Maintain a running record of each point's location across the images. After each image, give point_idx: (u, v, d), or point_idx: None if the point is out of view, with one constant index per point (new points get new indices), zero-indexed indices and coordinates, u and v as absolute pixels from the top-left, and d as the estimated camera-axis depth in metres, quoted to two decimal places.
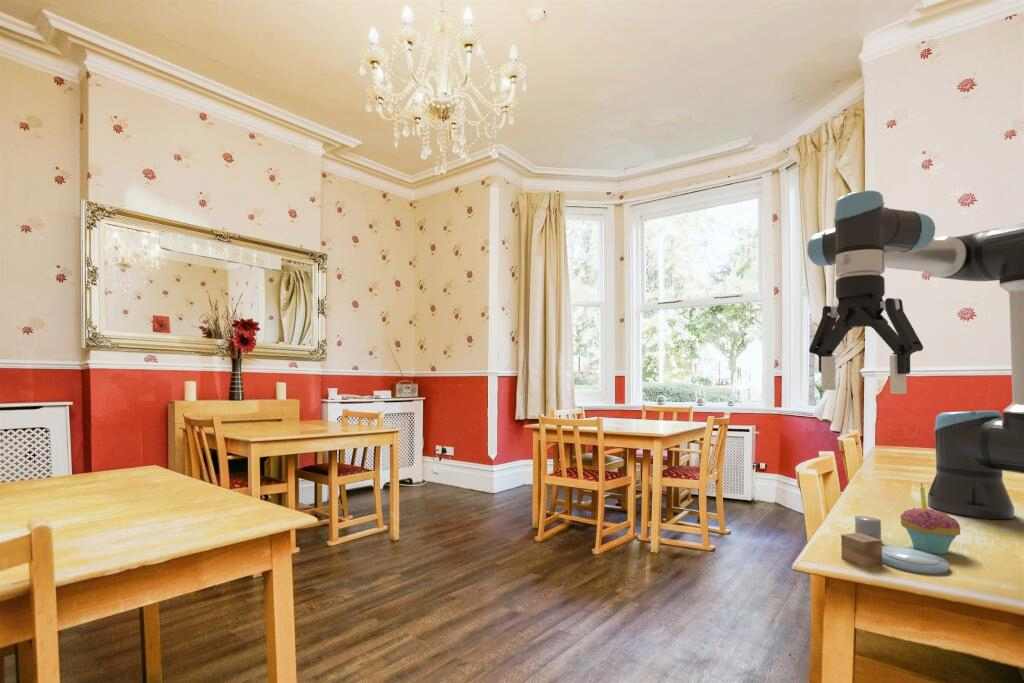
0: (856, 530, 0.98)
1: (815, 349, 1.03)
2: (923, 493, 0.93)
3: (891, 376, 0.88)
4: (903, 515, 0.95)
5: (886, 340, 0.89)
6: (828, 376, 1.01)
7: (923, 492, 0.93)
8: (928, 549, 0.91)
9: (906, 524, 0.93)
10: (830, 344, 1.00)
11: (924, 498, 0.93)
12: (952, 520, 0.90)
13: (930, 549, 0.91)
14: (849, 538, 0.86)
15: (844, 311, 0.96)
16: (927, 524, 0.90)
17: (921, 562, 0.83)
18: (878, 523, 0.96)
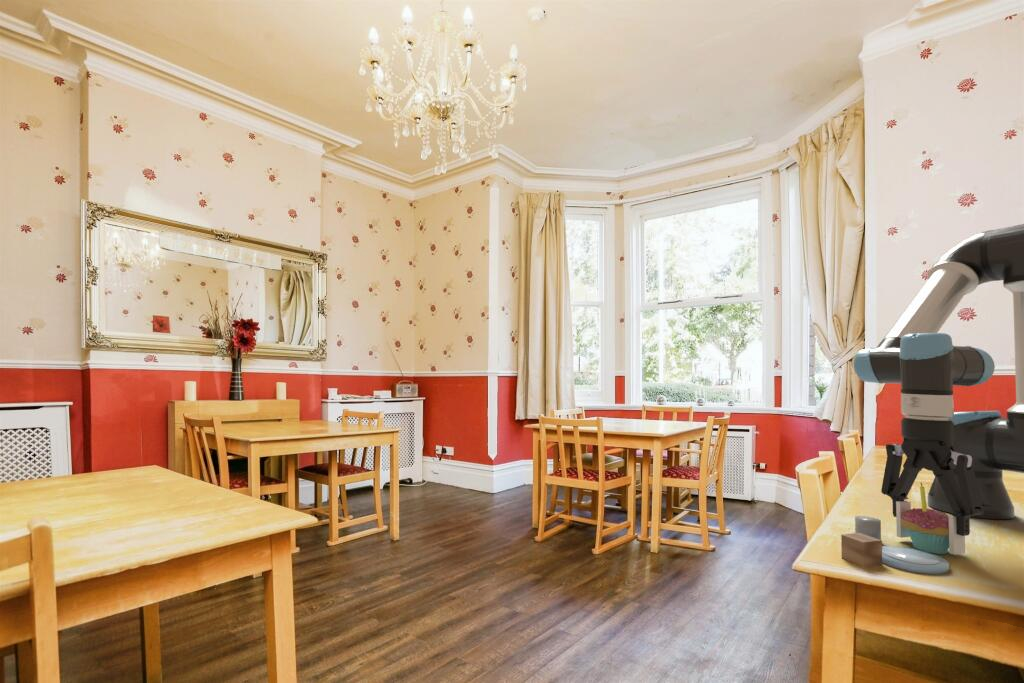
0: (856, 530, 0.98)
1: (888, 490, 0.99)
2: (923, 493, 0.93)
3: (950, 536, 0.89)
4: (903, 515, 0.95)
5: (948, 496, 0.89)
6: None
7: (923, 492, 0.93)
8: (928, 549, 0.91)
9: (906, 524, 0.93)
10: (903, 487, 0.97)
11: (924, 498, 0.93)
12: None
13: (930, 549, 0.91)
14: (849, 538, 0.86)
15: (911, 452, 0.95)
16: (927, 524, 0.90)
17: (921, 562, 0.83)
18: (878, 523, 0.96)
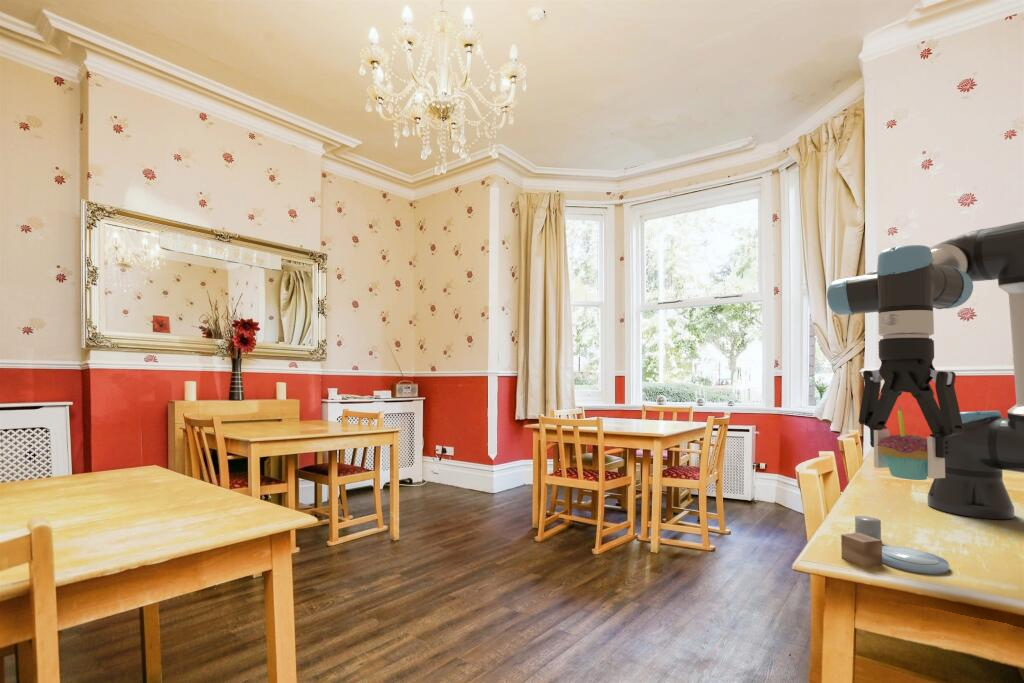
0: (856, 530, 0.98)
1: (866, 419, 0.93)
2: (901, 417, 0.86)
3: (929, 459, 0.82)
4: (880, 442, 0.89)
5: (926, 417, 0.83)
6: None
7: (901, 415, 0.86)
8: (906, 475, 0.85)
9: (883, 450, 0.87)
10: (881, 414, 0.91)
11: (902, 422, 0.86)
12: None
13: (908, 475, 0.85)
14: (849, 538, 0.86)
15: (888, 375, 0.88)
16: (905, 448, 0.84)
17: (921, 562, 0.83)
18: (878, 523, 0.96)
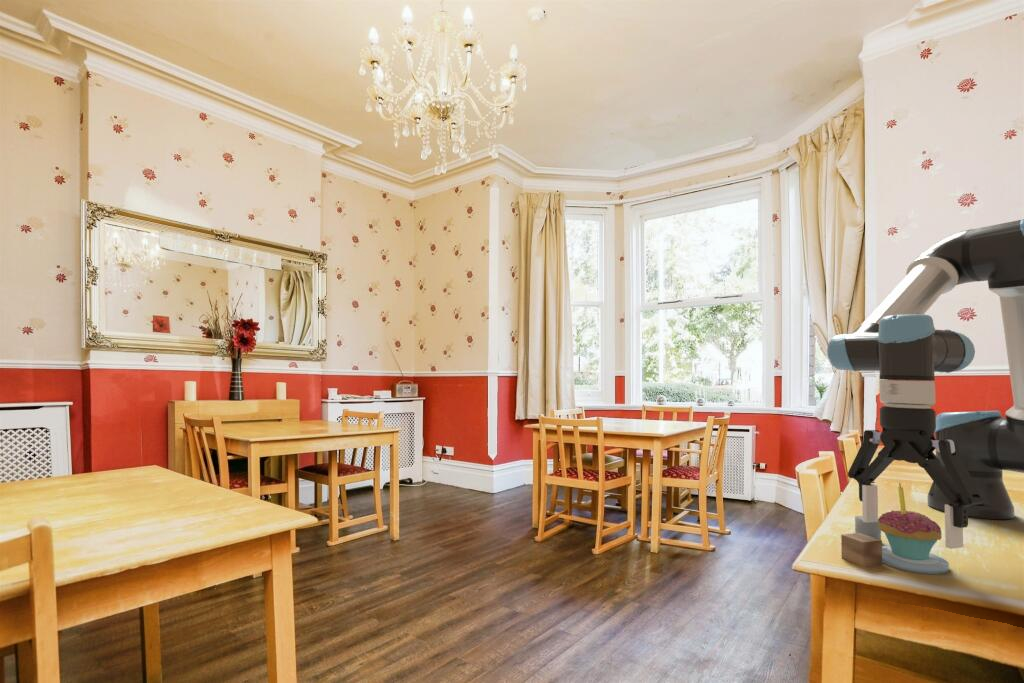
0: (856, 530, 0.98)
1: (855, 474, 0.95)
2: (902, 494, 0.86)
3: (946, 528, 0.80)
4: (881, 518, 0.88)
5: (940, 486, 0.81)
6: (870, 507, 0.92)
7: (902, 493, 0.86)
8: (907, 555, 0.84)
9: (884, 528, 0.86)
10: (872, 473, 0.92)
11: (903, 500, 0.86)
12: (933, 523, 0.84)
13: (909, 555, 0.84)
14: (849, 538, 0.86)
15: (890, 443, 0.88)
16: (906, 528, 0.83)
17: (921, 562, 0.83)
18: (878, 523, 0.96)
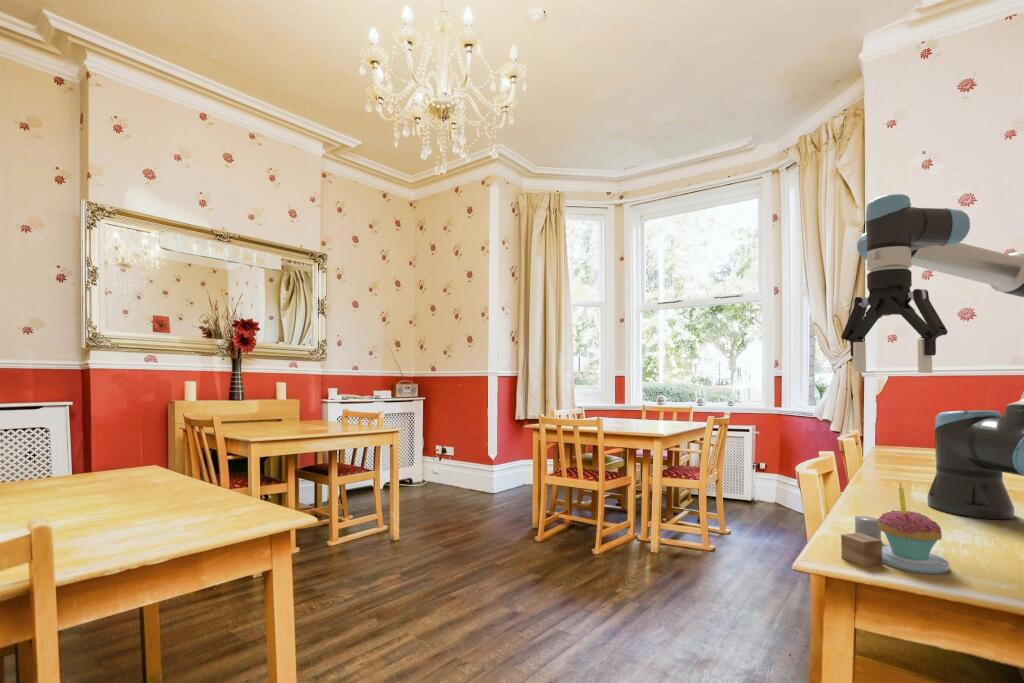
0: (856, 530, 0.98)
1: (847, 336, 1.15)
2: (902, 494, 0.86)
3: (919, 357, 1.00)
4: (881, 518, 0.88)
5: (914, 326, 1.01)
6: (859, 359, 1.13)
7: (902, 493, 0.86)
8: (907, 555, 0.84)
9: (884, 528, 0.86)
10: (861, 331, 1.12)
11: (903, 500, 0.86)
12: (933, 523, 0.84)
13: (909, 555, 0.84)
14: (849, 538, 0.86)
15: (875, 301, 1.08)
16: (906, 528, 0.83)
17: (921, 562, 0.83)
18: (878, 523, 0.96)
